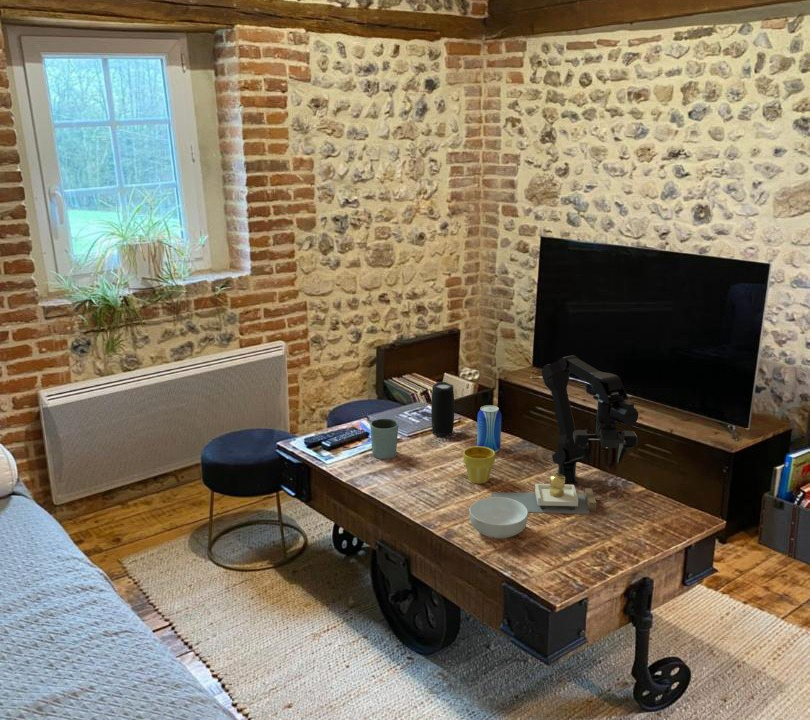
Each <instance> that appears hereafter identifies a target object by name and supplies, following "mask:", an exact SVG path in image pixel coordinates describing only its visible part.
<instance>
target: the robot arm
mask: <svg viewBox="0 0 810 720" xmlns="http://www.w3.org/2000/svg"><path fill="white" fill-rule="evenodd" d="M570 373H572V374H574V375H575V376H576V377H578V378H579V379H582V380H583V381H584V382H586V383H588V384H589V385H591V390H592V391H594V392H595V393H596V394H595V395H593V396H592V399H594V400H596V401H597V408H596V410H597V411H596V422H595V423H596V424H595V426H596V427H595V433H588V431H587V429H576V427H575V422H574V417H573V413H572V409H571V404H570V398H569V394H568V385H569V381H570ZM541 376H542V379H543V383H544V386H546V388H548V389H549V391H550V393H551V395H552V396H551V397H552V399H553V400H552V402H553V405H554V411H555V414H556V415H555V416H556V419H557V424H558V425H557V426H558V429H559V433H560V435H559V438H558V442H557V451H555V452H554V453H553V454H552V455H551V457H552V462H553V463H554V464H556V465H558V467H557V469H558V470H557V471H558V472H557V473H558V474H563V475H564V476H565V483H566V484H567V483H568V484H569V483H571V484H577V483H578V478H577V474H576V473H577V463H579V462H580V463H581V462H583V459H584V457H585V459H586V463H587V464H588V465H589V464H590V445H589V441H599V444H600V447H601V448H604V449H606V448H612V449H616V448H617V447H618V451H617V465H620V463H621V462H622V459H623V457H624V456H625V454H626V452H627V451H628V450H629V449H632V448H633V447H636V446H638V442H639V439H638V436H637V434H636V432H635V431H634V430H618V429H617V423H619V424H621V425H623V426H626V427H633V426H634V425H635V424H636V423H637V421H638V419H639V415H640V414H639V411H638V409H636V407H635V404H634V403H632V402H628V400H629V397H628V393H627V391H626V389H625V387H624V383H623V382H622V379H621V377H620V376H619V375H617V374H614V373H612V372H611V373H610V372H605V371H604V372H603V371H600V370H598V369H596V368H595V367H593V366H591V365H590V364H588V363H586V362H585V361H583V360H581V359H579V357H577V355H573V354H572V355H567V356H563V357H561V358H560V359H558V360H556V361H554V362H552V363H549V364H545V365H544V366H543V368H542V369H541Z"/></svg>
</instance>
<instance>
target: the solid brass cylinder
mask: <svg viewBox="0 0 810 720" xmlns="http://www.w3.org/2000/svg"><path fill="white" fill-rule="evenodd" d="M549 477H550V478H549V484H550V495H551V496H553V497H563V496H564V487H565V485H566V484H565V476H564V475H563V474H558V472H555V473H552V474H550V476H549Z"/></svg>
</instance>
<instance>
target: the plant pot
mask: <svg viewBox="0 0 810 720" xmlns="http://www.w3.org/2000/svg"><path fill="white" fill-rule="evenodd" d="M462 454H463V455H462V457H463V459H462V460H463V463H464V465H465V469H466V473H467V478H468V481H470V482H471V483H473V484H478V485H479V484H480V485H481V484H485V483H488V482H489V480H490V476H491V472H492V468H493V465H494V464H495V462H496V461H495V460H496V453H495V452H494V451H493V450H492V449H490V448H487V447H481V446H477V445H475V446H470V447H467V448H465V449H464V450H463V453H462Z"/></svg>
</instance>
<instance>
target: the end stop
mask: <svg viewBox="0 0 810 720" xmlns="http://www.w3.org/2000/svg"><path fill="white" fill-rule="evenodd" d="M594 495H595V494H594V492H593V489H592V487H591V488H589V487H588V488H587V487H586V488H584V497H585V500H586V503H587V506H588V509H589V512H590V513H596V512H597V501H596V499H595V496H594Z"/></svg>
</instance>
